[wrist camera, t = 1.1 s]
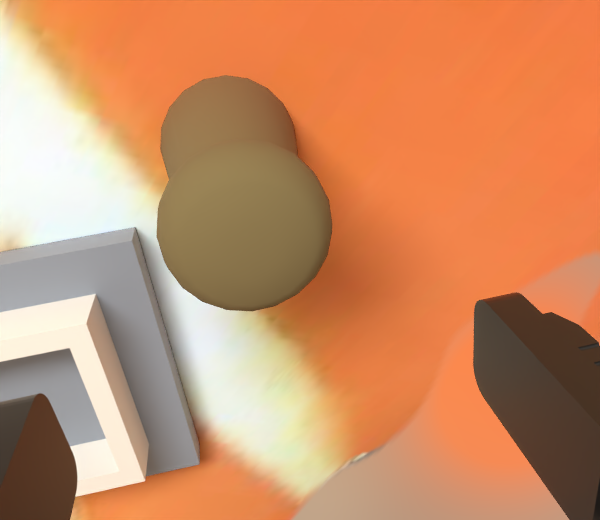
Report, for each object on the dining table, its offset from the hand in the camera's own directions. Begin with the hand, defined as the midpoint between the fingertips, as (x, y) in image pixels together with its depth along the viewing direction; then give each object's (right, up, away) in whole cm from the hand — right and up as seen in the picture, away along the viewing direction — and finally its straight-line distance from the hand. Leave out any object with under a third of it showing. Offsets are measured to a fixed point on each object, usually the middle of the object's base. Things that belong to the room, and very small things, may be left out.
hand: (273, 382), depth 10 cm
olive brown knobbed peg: (-3, +7, +15) cm, 17 cm away
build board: (-13, -4, +18) cm, 23 cm away
